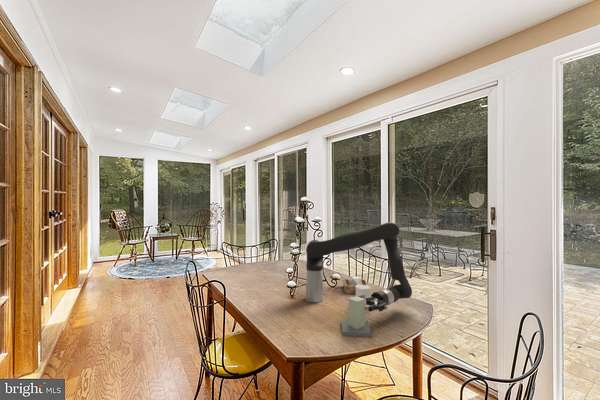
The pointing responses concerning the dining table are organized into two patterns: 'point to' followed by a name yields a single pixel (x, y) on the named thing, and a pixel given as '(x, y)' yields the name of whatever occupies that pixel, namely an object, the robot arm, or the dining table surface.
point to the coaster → (355, 330)
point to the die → (355, 281)
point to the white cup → (363, 291)
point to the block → (356, 312)
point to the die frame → (351, 289)
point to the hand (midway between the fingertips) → (361, 306)
